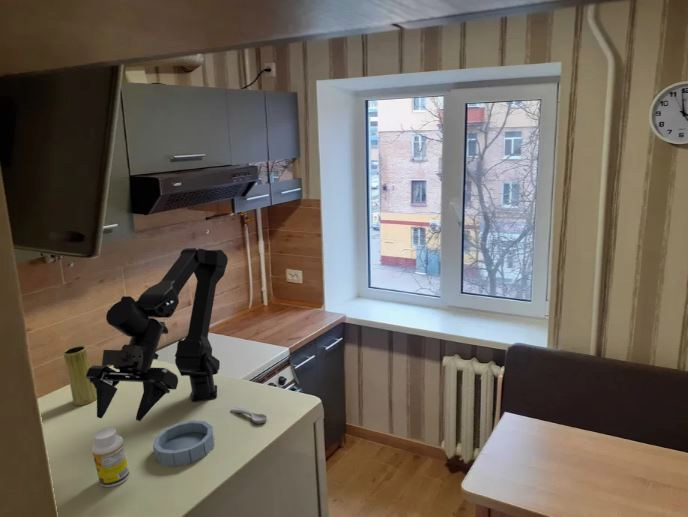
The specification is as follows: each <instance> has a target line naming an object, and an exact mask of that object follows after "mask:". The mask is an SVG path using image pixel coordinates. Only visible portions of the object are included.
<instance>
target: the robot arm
mask: <svg viewBox="0 0 688 517" xmlns="http://www.w3.org/2000/svg"><path fill="white" fill-rule="evenodd" d="M228 259H229V258H228V255H227V254H225V252H224V250H222V249H205V248H204V249H203V248H200V247H187V248H184V249H181V251H180V255H179V257H178V258H177V260H176V261H175V262H174V263H173V265H172V266H171V267H170V268H169V270H168V271H167V272H166V274H165V275H164V276H163V277H162V279H161V280H160V281H159V282H158V283H156V284H154V285H152V286H149V287H148V288H147V289H146V290H145V291H144V292H142V293H141V294H140V296H139V297H138V299H137V300H135V298H133V297H132V296H131V295H130V296H129V295H126V296H125V295H124V296H121V298H120V301H119V300H118V302H115V303H114V304H113V305H112V306H111V307H110V309H108V310H107V313H106V316H105V317H106V318H105V319H106V322H107V324H108V325H109V326H111V327H113V328H115V329H116V330H117V331H118V332H120V333H122V334H123V335H124V336H126V337H128V338H129V337H130V339H129V343H128V344H124V345H123V346H122V347H121V349H103V351H102V359H101V365H91V366H90V368H89V369H88V372H87V374H86V377H85V378H87V379H89V380H90V383H92V384H94V386H95V388H96V393H97V399H96V417H97V418H99V419H102V418H103V417H104V415H105V414H106V412H107V410H108V409H109V407H110V405H111V402H112V401H113V398H115V395H116V393H117V391H118V390H119V389H118V388H117V387H116V386H118V384H119V383H120V382H132V383H133V382H135V383H142V388H143V391H142V392H143V394H142V396H141V398H140V401H139V405H138V409H137V411H136V416H135V420H136V421H138V422H141V421H142V420H143V419H144V417H145V416H146V415H147V414H148V413H149V412H150V411H151V409H152V408H153V407H154V406H155V405H156V404H157V403H158V401H160V400H161V399H162V398H163V397H164V396H165V395H166V394H170V392H171V390H177V387H178V384H179V378H178V375H177V374H175V373H174V372H172V371H171V370H170V369H168V368H167V367H152V364H153V362H154V360H158V359H159V354H158V353H156V352H157V348H158V347H159V343H160V340H161V337H162V336H161V335H168V334H169V330H168V328H167V326H166V322H165V321H159V320H157V318H159V319H160V318H163V319H164V318H166V319H167V318H171V317H172V316H173V315H174V314H175V311H176V309H177V307H178V305H179V303H180V299H179V295H180V293H181V291H182V289H183V288H184V287H185V286H186V284H187V282H188V281H189V280H190V278H191V277H192V275H193V274H194V276H195V278H196V287H195V291H194V297H193V302H192V303H193V304H192V309H191V314H190V320H189V326H188V332H187V335H186V336H185V338H184V339H179V340H178V342H177V346H176V351H175V355H174V357H175V358H174V362H175V363H174V364H175V366H176V368H177V369H178V372H179V373H180V376H182V377H184V376H186V377H188V376H189V377H188V378H189V381H190V382H189V383H190V387H191V393H190V398H189V399H190V403H195V402H200V401H204V400H210V399H216V398H218V385H217V384H215V381H214V375H218V374H219V370H220V364H221V363H220V360H219V359H218V358H217V357H215V356H214V355H213V347H212V345H211V342H210V340H209V337H208V336H209V332H210V326H211V319H212V313H213V307H214V300H215V294H216V288H217V284H218V283H219V281H220V280H221V279H222V278H223V277H224V275H225V272H226V270H227V266H228V261H229V260H228ZM109 366H112V368H111V367H109ZM113 368H114V369H116V370H119V371H116V370H114V369H113Z"/></svg>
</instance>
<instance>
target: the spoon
mask: <svg viewBox="0 0 688 517" xmlns="http://www.w3.org/2000/svg"><path fill="white" fill-rule="evenodd" d="M230 413H233V414H235V413H236V414H237V413H238V414H243V415H244V414H245V415H248V416H249V417H250V418H251V421H252V422H253V423H254V424H256V425H262V424H264V423H266V422H267V420H268V417H267V415H266V414H263V413H259V414H258V413H255V412H253V411H251V410H249V409H246V408H243V407H238V406H236V407H235V406H234V407H233V408H231V409H230Z"/></svg>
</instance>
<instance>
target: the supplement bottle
mask: <svg viewBox="0 0 688 517" xmlns="http://www.w3.org/2000/svg"><path fill="white" fill-rule="evenodd" d="M93 440H94V443H93V444H92V447H91V452H92V456H93V460H94V463H95V468H96V472H97V477H98V481H99V484H100V485H101V486H102V487H105V488H112V487H116V486H118V485H121V484H122V483H124V482H125V481H126V480H127V479H128V478H129V477H130V474H131V473H130V466H129V463H128V462H129V461H128V458H127V454H126V449H125V444H124V439H123V437H122V436H120V435H118V433H117V430H116V428H114V427H106V428H103V429H100V430H98V431H96V432H95V434H94V435H93Z"/></svg>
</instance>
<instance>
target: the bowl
mask: <svg viewBox="0 0 688 517" xmlns="http://www.w3.org/2000/svg"><path fill="white" fill-rule="evenodd" d="M213 427H214V426H213V425H211V424H210V423H208V422H207V421H204V420H195V419H193V420H187V421H183V422H178V423H175V424H173V425H171V426H168V427H167V428H164V429H162V431H161V432H159V433H158V434H157V435H156V436H155V437H154V439H153V444H152V449H153V453H154V458H155V460H156V461H157V462H158V463H159V464H160V465H161V466H165V467H166V466H167V467H180V466H185V465H190V464H192V463H195V462H197V461H199V460H201V459H203V458H204V457H206V456H207V455H208V454H209V453H210V452H211V451H212V450H213V449H212V448H213V447H214V448H215V442H214V440H216V439H215V434H214V428H213ZM211 449H212V450H211ZM210 450H211V451H210Z"/></svg>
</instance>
